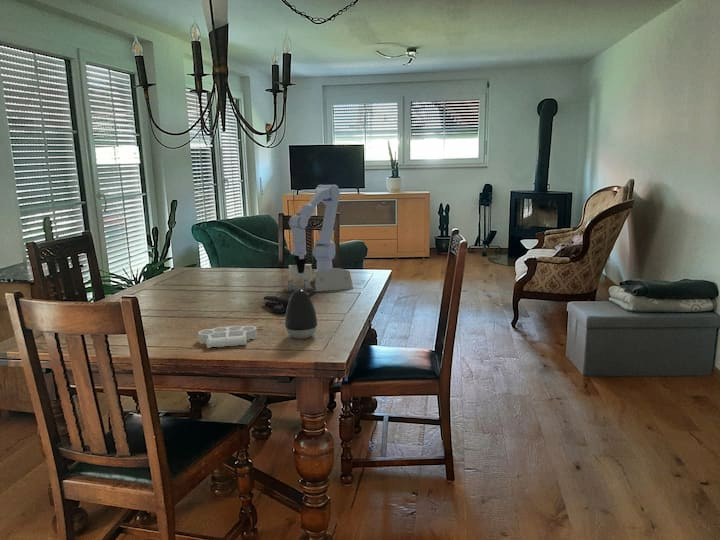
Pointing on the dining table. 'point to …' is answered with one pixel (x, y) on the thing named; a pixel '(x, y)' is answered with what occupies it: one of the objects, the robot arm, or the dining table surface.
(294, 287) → the clip bracket
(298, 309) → the dark grey tapered dome
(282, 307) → the can opener
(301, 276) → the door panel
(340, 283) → the grey curved block
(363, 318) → the dining table surface
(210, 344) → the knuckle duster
